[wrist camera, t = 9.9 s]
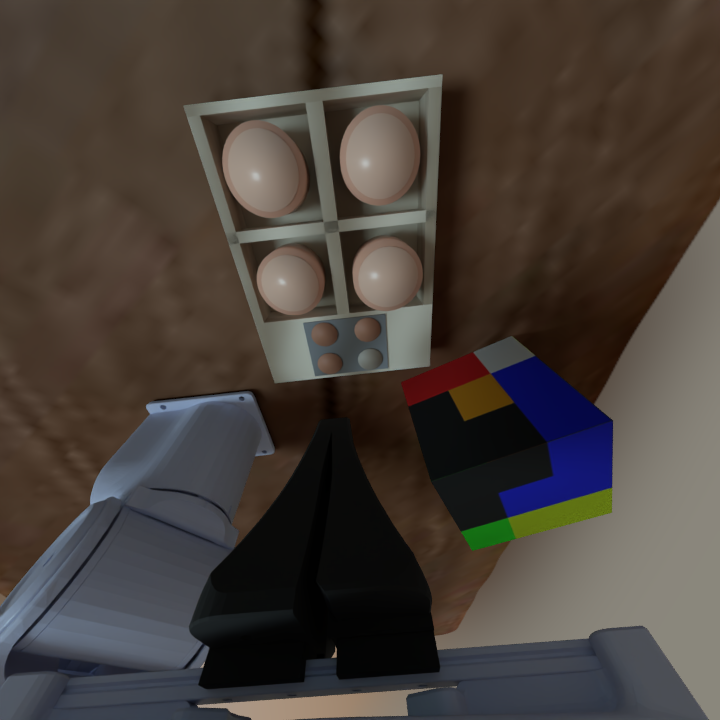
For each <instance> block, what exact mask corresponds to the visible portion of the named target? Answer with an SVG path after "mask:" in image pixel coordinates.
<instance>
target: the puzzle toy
mask: <svg viewBox="0 0 720 720" xmlns="http://www.w3.org/2000/svg"><path fill="white" fill-rule="evenodd" d="M401 384H402V387H403V390H404V394H405V397H406V400H407V404H408V407H409V410H410V413H411V417H412V420H413V423H414V427H415V430H416V433H417V437H418V440H419V443H420V446H421V450H422V453H423V456H424V460H425V463H426V466H427V469H428V473H429V476H430V479H431V482H432V484H433V485H434V487H435V489H436V490H437V492H438V494H439V496H440V497H441V499H442V501H443V502H444V504H445V506H446V507H447V509H448V511H449V512H450V514H451V516H452V517H453V519H454V521H455V522H456V524H457V526H458V527H459V529H460V531H461V532H462V534H463V536H464V537H465V539H466V541H467V542H468V544H469V546H470V547H471V549H472V551H473V550H477V549H481V548H484V547H488V546H492V545H495V544H499V543H502V542H506V541H510V540H513V539H517V538H521V537H524V536H528V535H532V534H535V533H539V532H543V531H546V530H550V529H554V528H557V527H561V526H565V525H568V524H572V523H575V522H579V521H583V520H586V519H590V518H594V517H597V516H601V515H604V514H608V513H611V512H612V455H613V449H612V448H613V420H612V419H610V418H609V417H608V416H607V415H606V414H604V413H603V412H602V411H601V410H599V408H597V407H596V406H595V405H594V404H593V403H591V402H590V401H589V400H588V399H587V398H585V397H584V396H583V395H582V394H581V393H579V392H578V391H577V390H576V389H575V388H573V387H572V386H571V385H570V384H569V383H567V382H566V381H565V380H564V379H563V378H562V377H560V376H559V375H558V374H557V373H556V372H554V371H553V370H552V369H551V368H550V367H548V366H547V365H546V364H545V363H544V362H542V361H541V360H540V359H539V358H538V357H536V356H535V355H534V354H533V353H532V352H530V351H529V350H528V349H527V348H526V347H525V346H523V345H522V344H521V343H520V342H519V341H517V340H516V339H515V338H514V337H513V336H510V337H508V338H506V339H503V340H501V341H499V342H496V343H494V344H491V345H489V346H487V347H484V348H482V349H480V350H477V351H475V352H472V353H470V354H468V355H465V356H463V357H460V358H458V359H456V360H453V361H451V362H449V363H446V364H444V365H441V366H439V367H437V368H434V369H432V370H429V371H427V372H425V373H422V374H420V375H418V376H415V377H413V378H410V379H408V380H406V381H403V382H401Z"/></svg>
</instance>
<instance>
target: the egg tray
mask: <svg viewBox="0 0 720 720" xmlns="http://www.w3.org/2000/svg"><path fill="white" fill-rule="evenodd" d="M441 96H442V74H441V75H433V76H425V77H416V78H408V79H400V80H392V81H383V82H375V83H367V84H358V85H350V86H342V87H334V88H325V89H317V90H309V91H301V92H292V93H284V94H276V95H268V96H259V97H251V98H243V99H234V100H226V101H218V102H210V103H201V104H193V105H185V106H184V109H185V112H186V115H187V118H188V121H189V124H190V127H191V130H192V133H193V136H194V139H195V143H196V146H197V149H198V152H199V155H200V158H201V161H202V164H203V167H204V170H205V173H206V176H207V179H208V182H209V185H210V188H211V191H212V194H213V197H214V200H215V203H216V206H217V209H218V212H219V215H220V218H221V221H222V224H223V227H224V230H225V234H226V237H227V240H228V243H229V246H230V249H231V252H232V255H233V258H234V261H235V264H236V267H237V270H238V273H239V276H240V279H241V282H242V285H243V288H244V291H245V294H246V297H247V300H248V303H249V306H250V309H251V312H252V315H253V318H254V322H255V325H256V328H257V331H258V334H259V337H260V340H261V343H262V346H263V349H264V352H265V355H266V358H267V361H268V364H269V367H270V370H271V373H272V376H273V379H274V382H275V383H282V382H291V381H300V380H309V379H318V378H327V377H336V376H345V375H355V374H364V373H373V372H382V371H391V370H400V369H409V368H418V367H428V366H430V347H431V324H432V302H433V279H434V256H435V233H436V210H437V187H438V164H439V141H440V119H441ZM377 105H386V106H391V107H394V108H396V109H398V110H399V111H401V112H402V113H403V114H405V115H406V116H407V118H408V119H409V120H410V121H411V123H412V124H413V126H414V128H415V130H416V133H417V135H418V139H419V144H420V163H419V168H418V172H417V175H416V177H415V180H414V182H413V184H412V185H411V187H410V188H409V190H408V191H407V192H406V193H405V194H404V195H403V196H402V197H401V198H399V199H398V200H397V201H395V202H393V203H390V204H387V205H381V206H376V205H370V204H367V203H365V202H362V201H360V200H359V199H357V198H356V197H355V196H354V195H353V194H352V193H351V192H350V191H349V189H348V188H347V186H346V184H345V182H344V180H343V176H342V172H341V166H340V148H341V143H342V139H343V136H344V134H345V131H346V129H347V127H348V126H349V124H350V123H351V121H352V120H353V119H354V118H355V117H356V116H357V115H358V114H359V113H360V112H362V111H363V110H365V109H367V108H369V107H372V106H377ZM251 120H260V121H266V122H269V123H271V124H273V125H275V126H277V127H279V128H280V129H281V130H283V131H284V132H285V133H286V134H287V135H288V136H289V137H290V138H291V139H292V140H293V141H294V142H295V143H296V144H297V146H298V147H299V148H300V150H301V151H302V153H303V155H304V157H305V159H306V161H307V164H308V168H309V174H310V185H309V191H308V194H307V197H306V199H305V201H304V202H303V204H302V205H301V206H300V207H299V208H298V209H297V210H296V211H294V212H292V213H290V214H287V215H284V216H281V217H277V218H265V217H261V216H258V215H255V214H253V213H252V212H250V211H248V210H247V209H246V208H244V207H243V206H242V205H241V204H240V203H239V202H238V201H237V199H236V198H235V197H234V196H233V194H232V192H231V191H230V189H229V187H228V185H227V182H226V179H225V176H224V172H223V165H222V156H223V149H224V145H225V143H226V140H227V138H228V136H229V135H230V133H231V132H232V131H233V130H234V129H235V128H236V127H237V126H239V125H240V124H242V123H244V122H247V121H251ZM380 235H390V236H394V237H397V238H399V239H400V240H402V241H403V242H405V243H406V244H407V245H408V246H410V247H411V248H412V249H413V250H414V251H415V252H416V254H417V255H418V257H419V259H420V261H421V264H422V269H423V278H422V283H421V286H420V288H419V291H418V292H417V294H416V295H415V297H414V298H413V299H412V300H411V301H410V302H409V303H408V304H406V305H405V306H403V307H401V308H399V309H396V310H392V311H379V310H375V309H373V308H371V307H369V306H367V305H366V304H365V303H364V302H362V300H361V299H360V298H359V296H358V295H357V293H356V291H355V288H354V283H353V274H352V264H353V260H354V257H355V254H356V252H357V251H358V249H359V248H360V247H361V246H362V245H363V244H364V243H365V242H366V241H367V240H369V239H371V238H373V237H376V236H380ZM290 243H295V244H301V245H304V246H306V247H308V248H310V249H311V250H313V251H314V252H315V253H316V254H317V255H318V256H319V258H320V259H321V261H322V263H323V265H324V267H325V272H326V282H325V287H324V291H323V295H322V298H321V300H320V302H319V303H318V305H317V306H316V307H315V308H314V309H312V310H311V311H309V312H307V313H305V314H301V315H287V314H283V313H281V312H278V311H276V310H275V309H273V308H272V307H271V306H269V305H268V304H267V303H266V301H265V300H264V299H263V297H262V296H261V294H260V292H259V289H258V285H257V271H258V268H259V266H260V264H261V262H262V261H263V259H264V258H265V257H266V256H268V255H269V254H270V253H271V252H273V251H274V250H275V249H277V248H278V247H280V246H282V245H285V244H290Z"/></svg>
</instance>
